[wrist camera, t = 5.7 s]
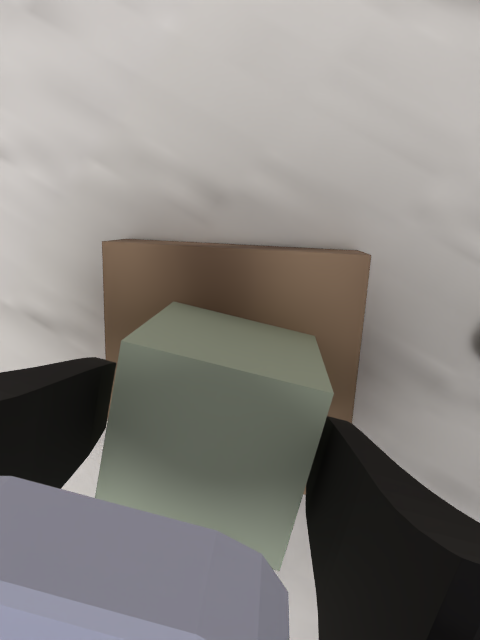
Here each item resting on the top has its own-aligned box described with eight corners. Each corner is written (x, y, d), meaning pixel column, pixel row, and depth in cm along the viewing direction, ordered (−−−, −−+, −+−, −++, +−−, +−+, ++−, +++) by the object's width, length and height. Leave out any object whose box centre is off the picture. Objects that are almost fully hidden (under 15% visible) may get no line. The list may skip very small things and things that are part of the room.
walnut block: (355, 249, 16) (371, 255, 14) (333, 454, 18) (342, 498, 16) (132, 238, 17) (102, 241, 14) (135, 437, 19) (109, 475, 16)
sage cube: (314, 336, 14) (333, 393, 9) (278, 462, 15) (279, 571, 11) (173, 301, 14) (121, 340, 10) (148, 429, 16) (90, 521, 11)
